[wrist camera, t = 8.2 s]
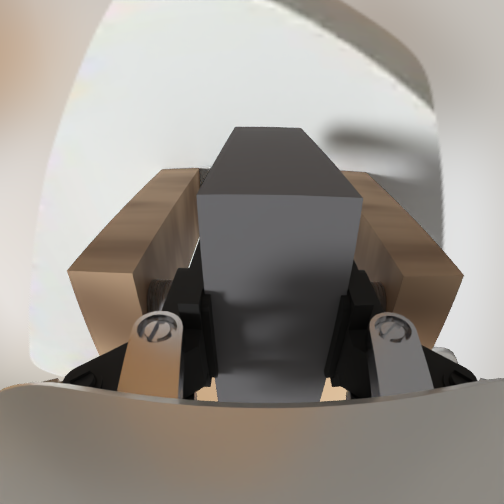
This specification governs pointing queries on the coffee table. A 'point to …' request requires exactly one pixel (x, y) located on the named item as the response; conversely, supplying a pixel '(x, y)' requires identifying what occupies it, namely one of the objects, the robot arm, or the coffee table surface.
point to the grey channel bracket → (275, 262)
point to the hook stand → (187, 234)
